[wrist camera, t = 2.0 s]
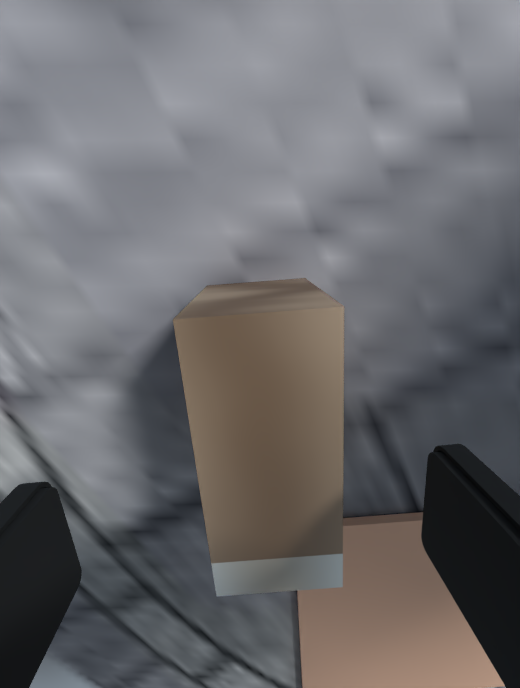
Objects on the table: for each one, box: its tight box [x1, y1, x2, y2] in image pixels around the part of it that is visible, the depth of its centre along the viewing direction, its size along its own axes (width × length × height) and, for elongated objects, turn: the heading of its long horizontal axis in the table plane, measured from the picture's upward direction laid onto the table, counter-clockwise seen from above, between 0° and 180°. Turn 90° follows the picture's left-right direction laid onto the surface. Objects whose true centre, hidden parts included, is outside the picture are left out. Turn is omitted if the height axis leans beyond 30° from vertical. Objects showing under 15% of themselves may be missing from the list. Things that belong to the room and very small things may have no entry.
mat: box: [297, 512, 505, 688], centre depth 19 cm, size 20×14×1 cm
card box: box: [173, 278, 344, 597], centre depth 12 cm, size 4×9×6 cm, turn 4°
